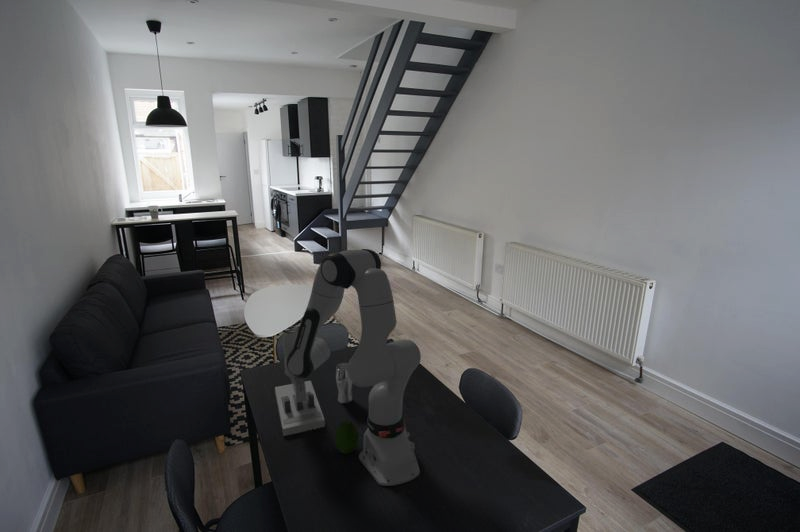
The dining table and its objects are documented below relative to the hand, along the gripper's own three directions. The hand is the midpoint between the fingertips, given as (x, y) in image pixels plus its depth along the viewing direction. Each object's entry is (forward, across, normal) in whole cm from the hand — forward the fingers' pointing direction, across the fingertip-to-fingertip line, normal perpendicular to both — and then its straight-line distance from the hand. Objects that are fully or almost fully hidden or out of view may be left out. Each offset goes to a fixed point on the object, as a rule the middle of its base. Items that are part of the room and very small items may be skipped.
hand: (298, 399), depth 164 cm
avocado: (+5, -29, -12) cm, 32 cm away
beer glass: (+5, +2, -19) cm, 20 cm away
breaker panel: (+5, +2, 0) cm, 5 cm away
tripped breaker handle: (+2, -3, 0) cm, 3 cm away
